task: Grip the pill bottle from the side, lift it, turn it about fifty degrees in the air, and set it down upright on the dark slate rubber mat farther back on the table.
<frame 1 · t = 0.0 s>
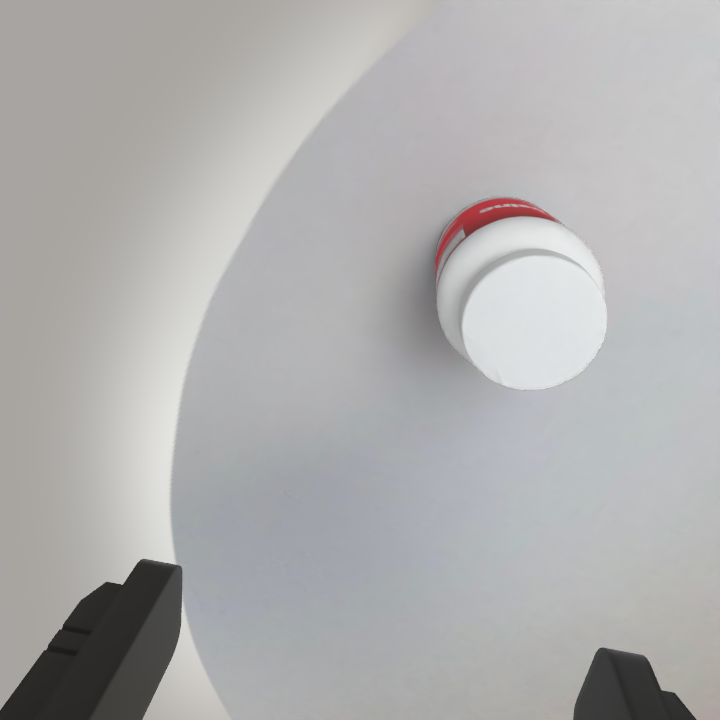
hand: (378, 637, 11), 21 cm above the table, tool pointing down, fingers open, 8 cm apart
pill bottle: (495, 256, 29), on the table
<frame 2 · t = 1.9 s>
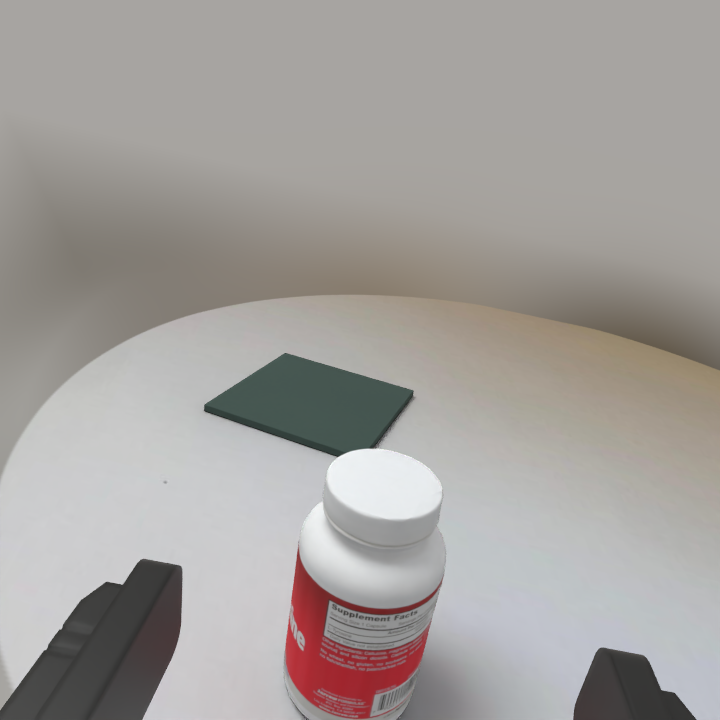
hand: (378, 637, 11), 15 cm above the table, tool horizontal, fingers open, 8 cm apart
pill bottle: (347, 679, 27), on the table
mat: (316, 402, 52), on the table
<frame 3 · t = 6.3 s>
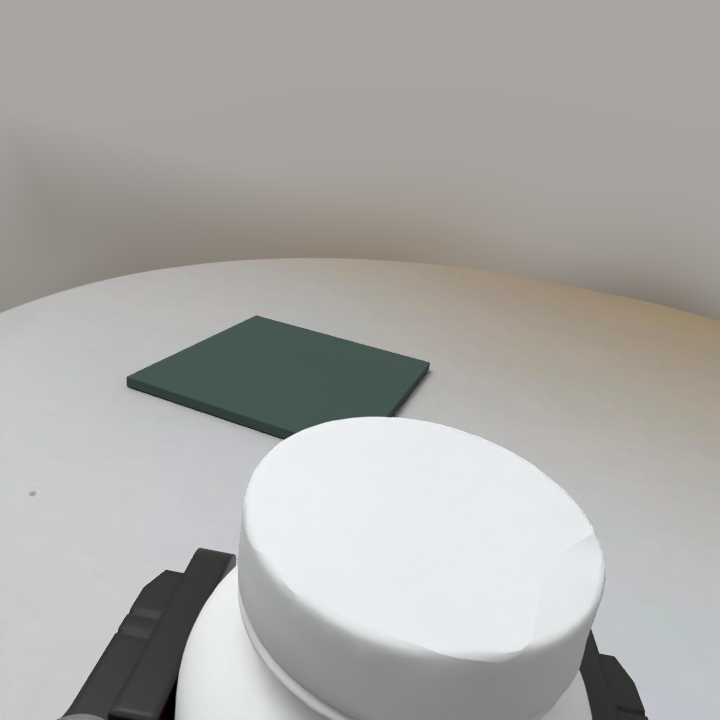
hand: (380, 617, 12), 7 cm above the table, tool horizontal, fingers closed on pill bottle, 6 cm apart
mat: (294, 377, 37), on the table
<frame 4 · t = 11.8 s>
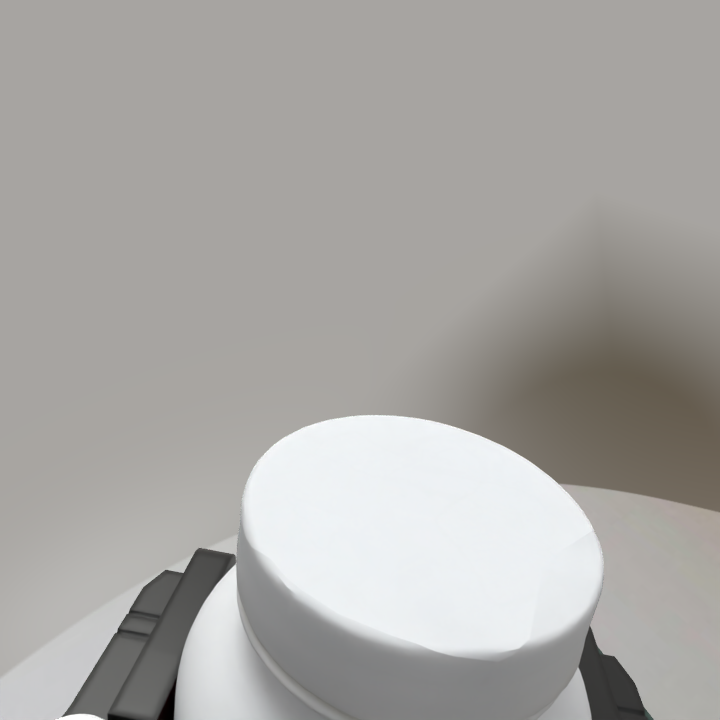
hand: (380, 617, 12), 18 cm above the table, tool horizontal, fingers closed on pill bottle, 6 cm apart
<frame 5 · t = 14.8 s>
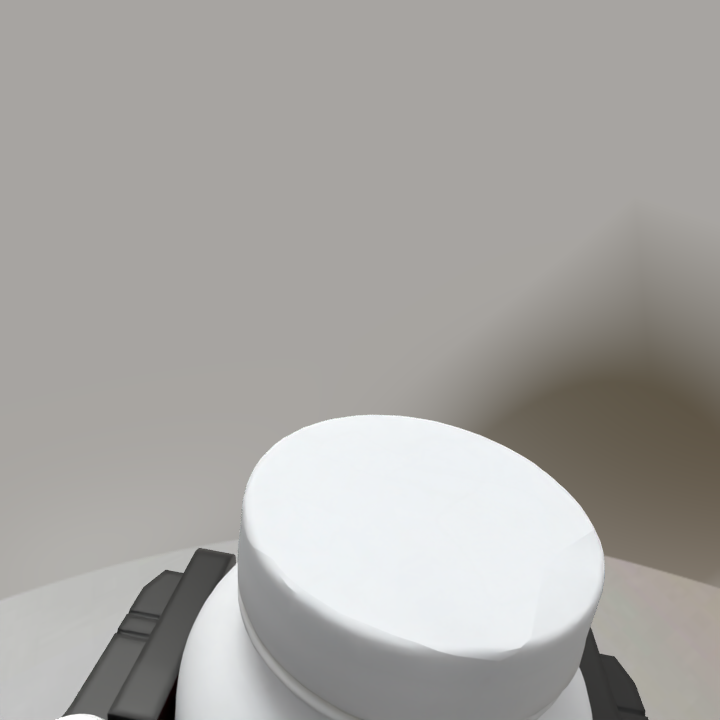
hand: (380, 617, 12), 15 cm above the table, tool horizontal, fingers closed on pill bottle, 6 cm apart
when the fingers open (7 cm above the table, at t = 17.4 s): pill bottle stays where it is, resting on mat.
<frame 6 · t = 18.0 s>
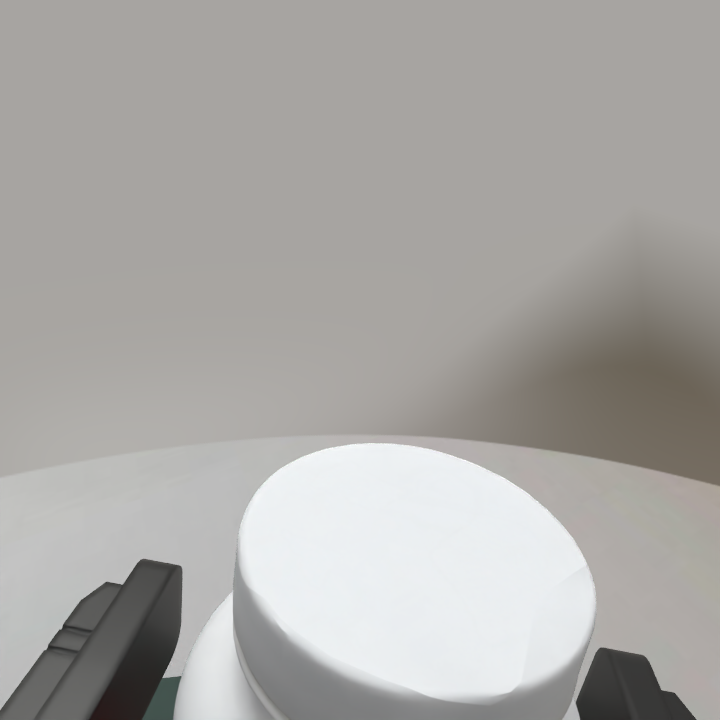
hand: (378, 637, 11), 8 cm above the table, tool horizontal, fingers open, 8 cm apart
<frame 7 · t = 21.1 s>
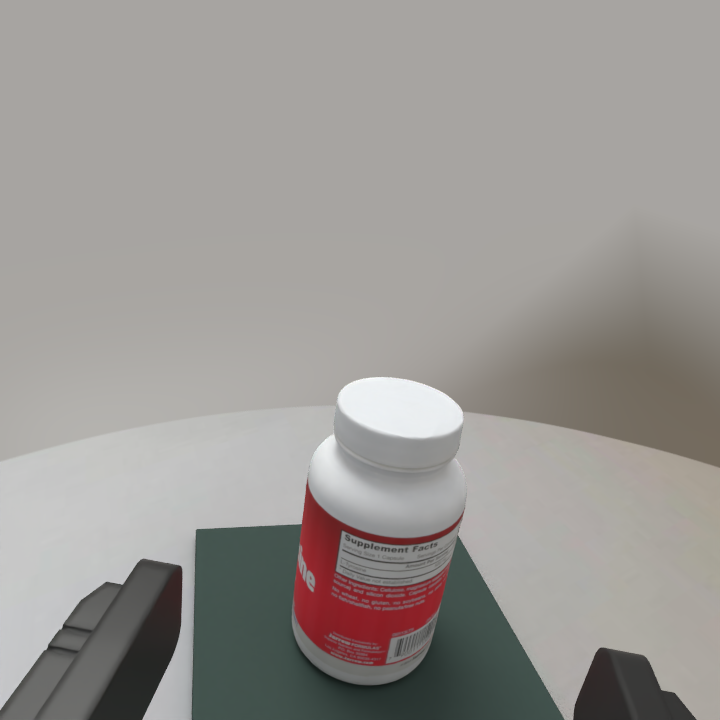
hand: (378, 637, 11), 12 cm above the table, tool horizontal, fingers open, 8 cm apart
pill bottle: (359, 631, 25), resting on mat
mat: (358, 636, 26), on the table
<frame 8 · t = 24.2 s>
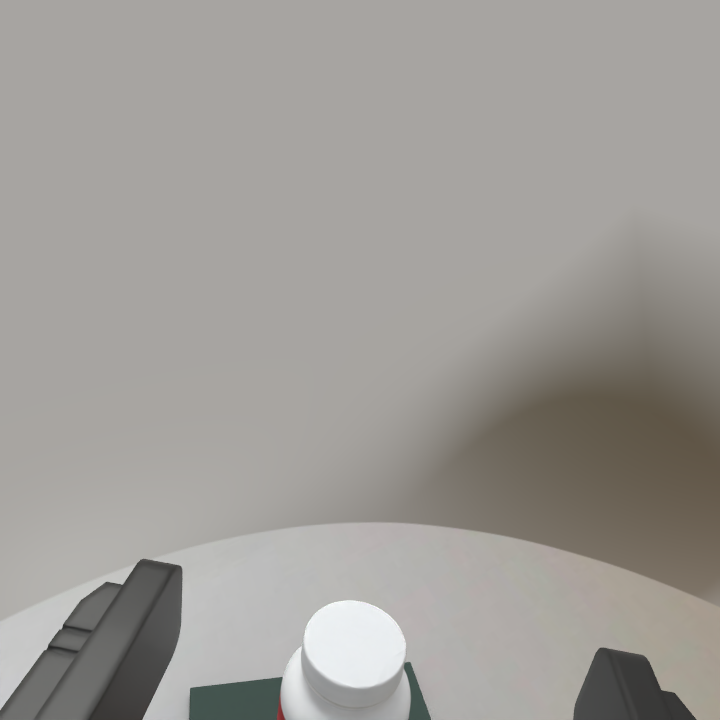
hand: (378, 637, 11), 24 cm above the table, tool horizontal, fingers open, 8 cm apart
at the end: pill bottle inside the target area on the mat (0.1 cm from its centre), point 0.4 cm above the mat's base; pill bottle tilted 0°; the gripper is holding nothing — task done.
